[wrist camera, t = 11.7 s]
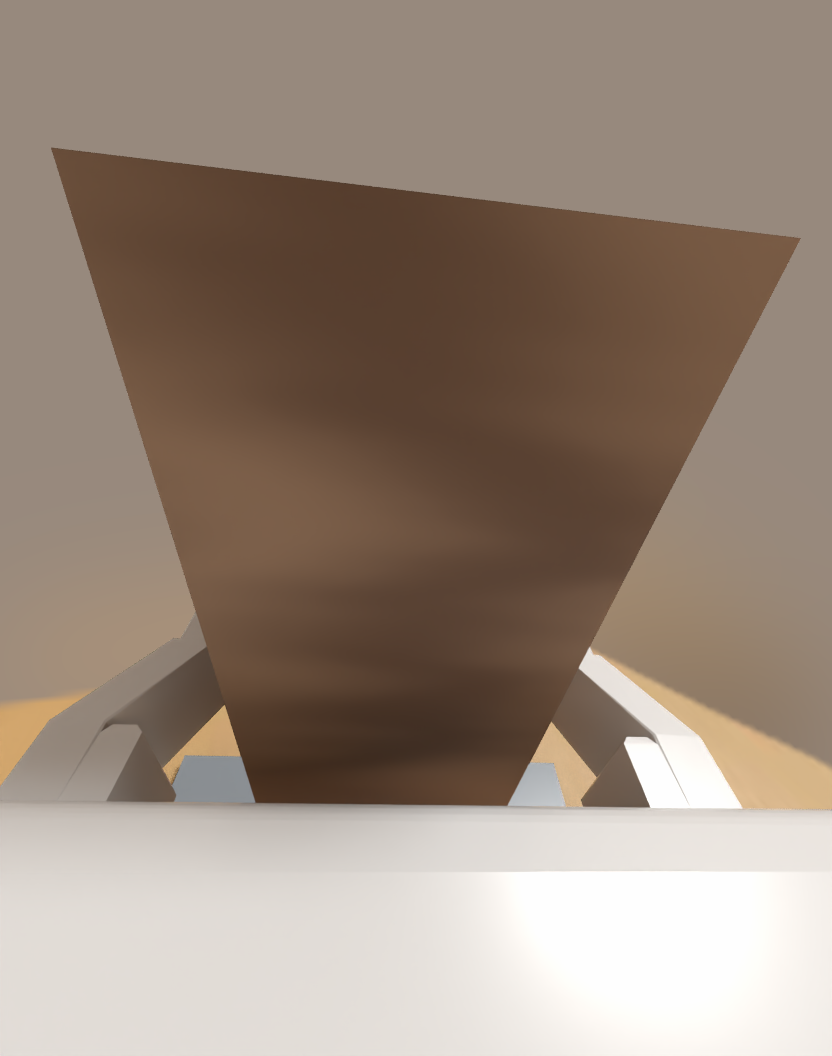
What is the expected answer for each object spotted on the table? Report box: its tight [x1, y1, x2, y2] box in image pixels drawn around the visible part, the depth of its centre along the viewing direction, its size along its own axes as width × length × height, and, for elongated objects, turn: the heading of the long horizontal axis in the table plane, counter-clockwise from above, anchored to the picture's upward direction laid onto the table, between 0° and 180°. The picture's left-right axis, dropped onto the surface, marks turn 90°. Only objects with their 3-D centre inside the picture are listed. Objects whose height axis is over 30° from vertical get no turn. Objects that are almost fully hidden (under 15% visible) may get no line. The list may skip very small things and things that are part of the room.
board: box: [172, 755, 566, 806], centre depth 18 cm, size 22×16×1 cm
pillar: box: [51, 148, 800, 806], centre depth 9 cm, size 5×5×16 cm
